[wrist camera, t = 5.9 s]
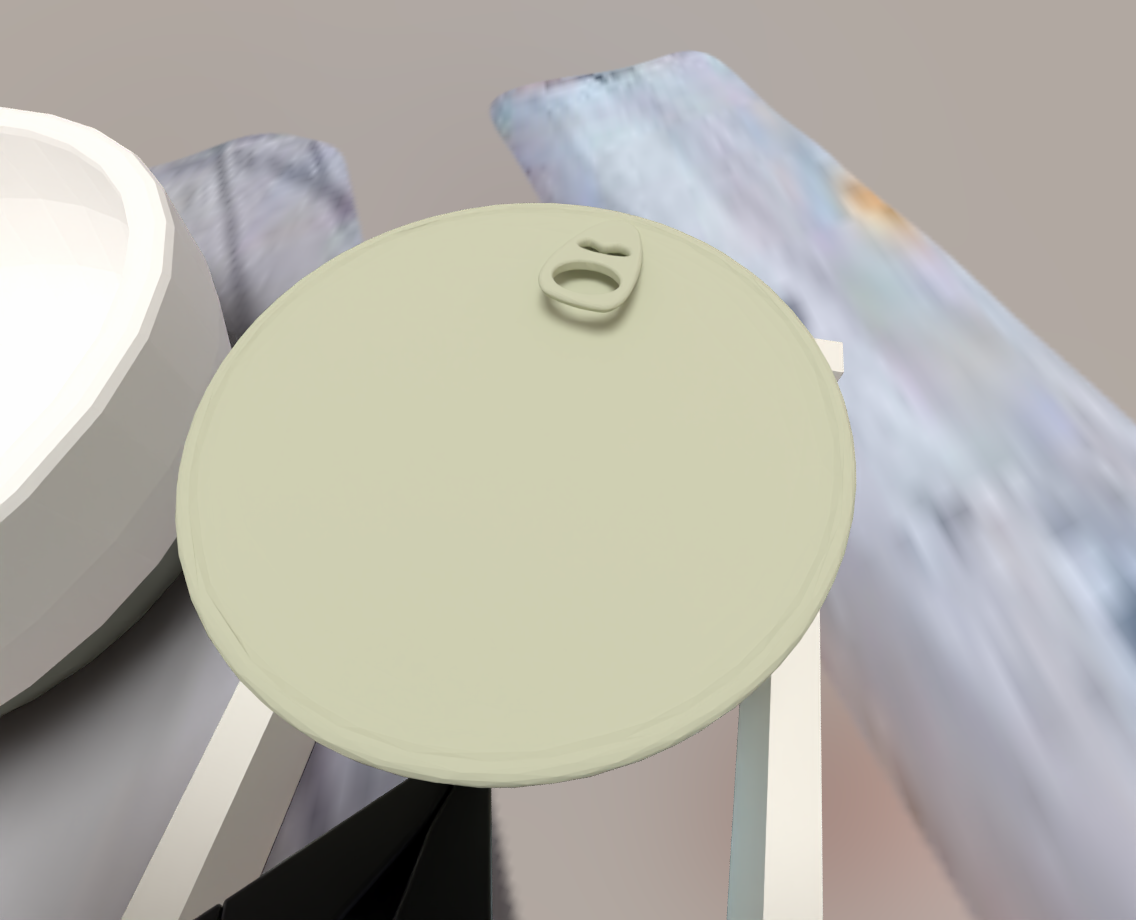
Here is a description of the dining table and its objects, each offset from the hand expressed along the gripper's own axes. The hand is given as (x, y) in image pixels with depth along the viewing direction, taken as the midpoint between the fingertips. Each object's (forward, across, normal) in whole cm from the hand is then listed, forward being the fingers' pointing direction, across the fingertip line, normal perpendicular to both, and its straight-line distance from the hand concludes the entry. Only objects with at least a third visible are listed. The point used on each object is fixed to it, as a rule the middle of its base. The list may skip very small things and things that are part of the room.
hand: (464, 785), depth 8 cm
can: (+9, 0, -2) cm, 9 cm away
